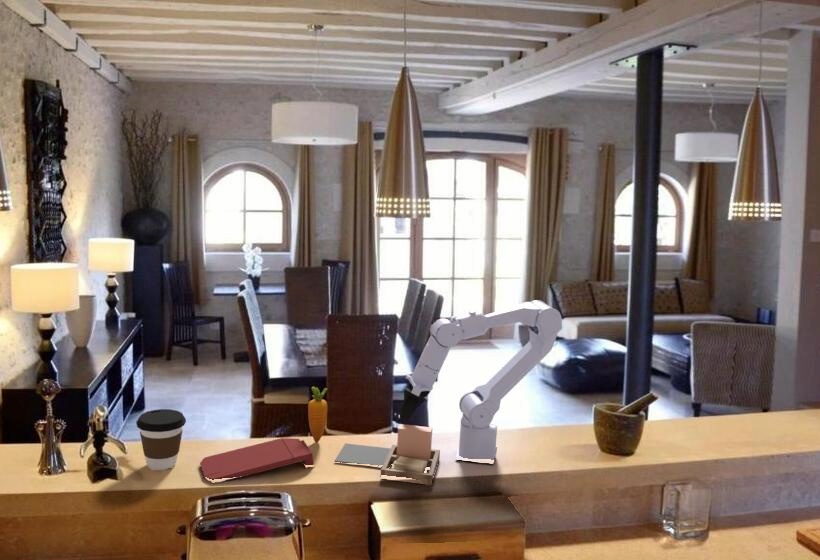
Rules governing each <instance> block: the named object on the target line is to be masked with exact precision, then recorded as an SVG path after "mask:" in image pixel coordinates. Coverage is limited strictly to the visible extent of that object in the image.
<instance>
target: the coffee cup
mask: <svg viewBox="0 0 820 560" xmlns="http://www.w3.org/2000/svg"><path fill="white" fill-rule="evenodd" d="M186 423H187V419H186V418H185V416H184V414H183V412H181V411H179V410H176V409H171V408H169V409H167V408H160V409H152V410H149V411H145V412H143V413H141V414H140V415H139V417H138V418H137V420H136V422H135V425H136V427H137V428H138V429H139V430H140V431H139V435H140V440H141V445H142V452H143V455H144V458H145V463H146V466H147V467H148V468H149V469H150V470H151V469H153V470H152V471H156V470H162V471H165V470H164V469H168V468H171V467H172V468H174V467H175V466H176V463H177V461H178V455H179V452H180V448H181V442H182V436H183V427H184V426H185V424H186ZM173 466H174V467H173ZM172 468H171V469H172ZM168 470H169V469H168Z"/></svg>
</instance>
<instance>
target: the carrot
mask: <svg viewBox="0 0 820 560" xmlns="http://www.w3.org/2000/svg"><path fill="white" fill-rule="evenodd" d="M311 391H312V393H313V395H312V394H311V397H312V398H313V399H312V400H309V402H308V404H307V405H308V406H307V407H308V408H307V409H308V410H307V412H308V413H307V414H308V425H309V429H310V430H309V431H310V433H311V437H312V438H313V440H314V442H315V443H319V442H320V440H321V438H322V437H323V434H324V432H325V428H326V425H327V424H326V423H327V417H328V403H327V401H326V400H325V399H323V398H324V397H325V395H326V394H325V393H326V392H327V391H328V388H326V387H324V388H323V390H322V392H320V389H319V388H318V387H315V386H312V387H311Z"/></svg>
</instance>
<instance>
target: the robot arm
mask: <svg viewBox="0 0 820 560" xmlns="http://www.w3.org/2000/svg"><path fill="white" fill-rule="evenodd" d="M516 323H517V324H518V323H520V324H521V323H522V324H524V325H526V326H528V329H529V341H528V342H527V343H526V344H525V345H523V347H522V348H521V349H520V350H519V351H517V353H516V354H514V356H513V357H512V358H510V360H508V362H506V363H505V364H504V366H502V367H501V369H499V370H498V371H497V373H496V374H494V375H493V376H492V377H491V378H489V380H488V381H487V382H486V383H485V384H481V385H478V386H476V387H475V388H474V389H473V390H471V391H469V392H466V393H464V394H463V395H462V396H461V398H460V399H459V402H458V406H459V410H460V411H461V413H462V417H461V419H460V429H459V444H458V447H457V453H456V455H455V458H456V457H458V456H461V457H463V458H468V459H491V460H494V458H496V455H497V452H498V447H497V437H498V436H497V434H498V425H497V424H492V421H493V419H494V417H495V415H496V413H497V412H499V410H500V406H501V401H502V399H503V398H504V397H505V396H507V395H508V393H510V392H511V390H513V388H515V387H516V386H517V384H518V383H520V382H521V381H522V380H523V379H524V378H525V377H526V376H527V375H528V374H529V373H530V372H531V371H532V370H533V369H534V368H536V366H537V365H538V364H539V363H540V362H541V361H542V360H543V359H544V358H545V357H546V356H547V355H548V354H549V353H550V352H551V351H552V349H553V347H554V344H555V341H556V339H557V337H558V333H559V332H560V331H562V329H563V321H562V315H561V313H560V311H559V310H557V309H556V308H553V307H552V306H550V305H548V304H546V303H545V302H544V301H543V300H539V299H537V300H535V299H534V300H533V301H524V302H522V303H520V304H517V305H514V306H511V307H508V308H505V309H500V310H497V311H495V312H490V313H488V314H483V313H482V312H480V311H476V310H470V311H468V314H464V315H460V316H455V315H453V316H450V319H446V318H440V319H436V320H435V321H434V322H433V324H431V325H430V327H429V332H430V337H429V338H428V341H427V342H426V345H425V346H424V348H423V351H422V353H421V355H420V357H419V359H418V361H417V364H416V366H415V368H414V370H413V372H412V374H406V376H405V379H407V380H408V381H409V383H408V387H405V388H404V390H403V403H402V405H401V406H402V407H401V411H400V414H399V418H400V419H402V420H404V421H406V422H409V420H410V419H411V417H412V416H413V414H414V413H415V411H416V410H417V409H418V407H419V406H420V405H422V404H423V403H424V402H426V400H427V399H426V397H427V396H428V395H429V394H431V391H432V390H433V387H434V384H435V382H436V380H437V378H438V376H439V374H440V372H441V369H442V367H443V366H444V362H445V361H446V359H447V357H448V354H449V352H450V349H451V348H452V347H455V346H456V345H457V344H458V343H459V341H463V340H469V339H472V338H476V337H481V336H483V335H484V336H485V334H486V333H487V332H488V330H490V329H491V328H493V329H494V328H496V327H502V326H503V327H504V326H508V325H512V324H516ZM494 461H495V460H494Z"/></svg>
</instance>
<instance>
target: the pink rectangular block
mask: <svg viewBox="0 0 820 560" xmlns="http://www.w3.org/2000/svg"><path fill="white" fill-rule="evenodd" d="M432 441H433V427H430V426H429V427H428V426H423V425H422V426H419V425H413V424H402V423H400V424H399V426H398V427H397V444H396V445H397V455H399V456H408V457H417V458H426V459H431V449H432Z"/></svg>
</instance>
